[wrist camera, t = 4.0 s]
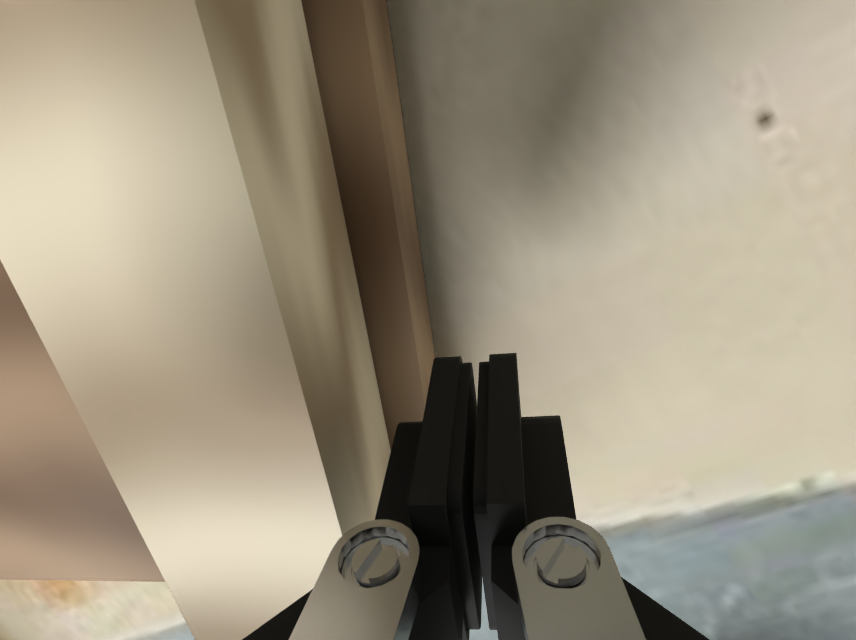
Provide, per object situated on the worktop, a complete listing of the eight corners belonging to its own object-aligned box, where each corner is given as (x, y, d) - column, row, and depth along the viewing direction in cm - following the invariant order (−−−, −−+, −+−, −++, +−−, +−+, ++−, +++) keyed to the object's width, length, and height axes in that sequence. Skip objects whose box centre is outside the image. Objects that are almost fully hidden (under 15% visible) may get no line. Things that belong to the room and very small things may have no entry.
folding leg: (-23, -290, 8) (-419, -512, 5) (231, -352, 8) (-1, -662, 4) (277, 548, 17) (217, 697, 13) (410, 548, 16) (385, 706, 13)
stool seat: (-608, -198, 12) (-844, -241, 10) (324, -450, 9) (271, -589, 7) (-68, 522, 23) (-128, 577, 20) (457, 520, 20) (452, 585, 17)
